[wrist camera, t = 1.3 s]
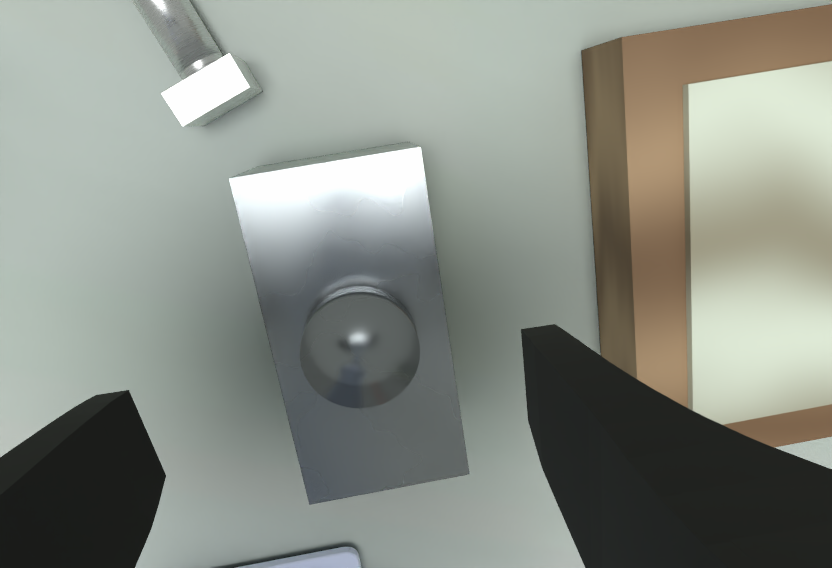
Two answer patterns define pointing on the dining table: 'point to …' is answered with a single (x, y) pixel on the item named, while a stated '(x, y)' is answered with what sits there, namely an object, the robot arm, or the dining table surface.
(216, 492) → the dining table surface
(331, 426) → the block
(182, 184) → the dining table surface
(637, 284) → the stand
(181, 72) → the loose bolt
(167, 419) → the dining table surface
